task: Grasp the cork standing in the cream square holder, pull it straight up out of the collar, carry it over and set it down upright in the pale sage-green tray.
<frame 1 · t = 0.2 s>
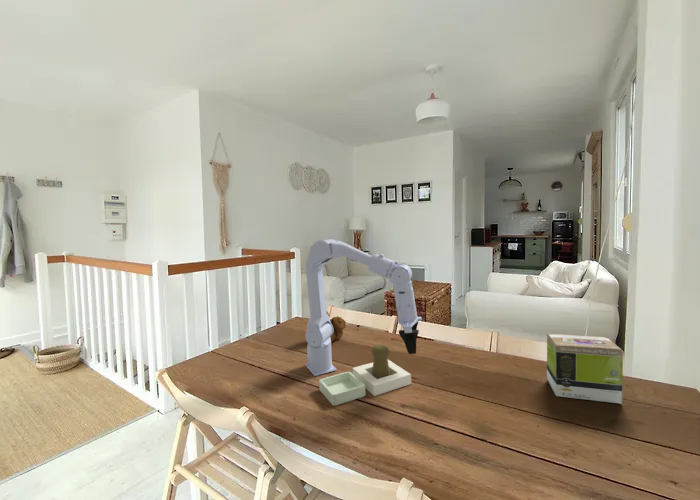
hand: (412, 348, 97), 10 cm above the table, tool pointing down, fingers open, 7 cm apart
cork: (381, 381, 100), resting in holder
stuffed squirrel: (329, 340, 135), on the table
tea box: (581, 392, 90), on the table
holder: (381, 380, 100), on the table
tray: (342, 392, 94), on the table
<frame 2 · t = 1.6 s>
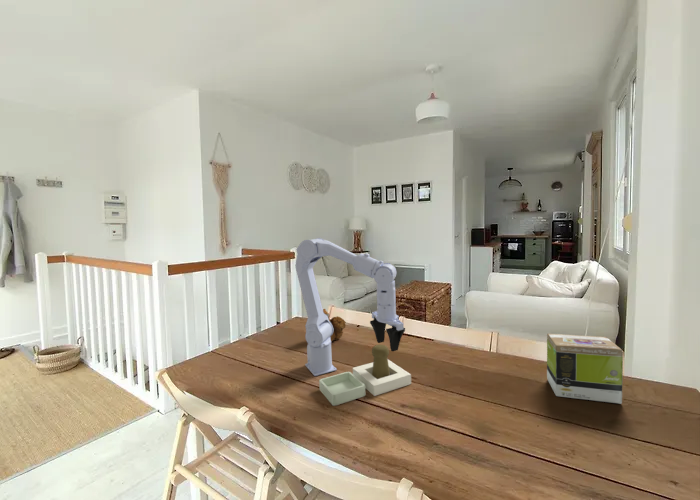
hand: (387, 346, 100), 10 cm above the table, tool pointing down, fingers open, 7 cm apart
nothing on the table moved.
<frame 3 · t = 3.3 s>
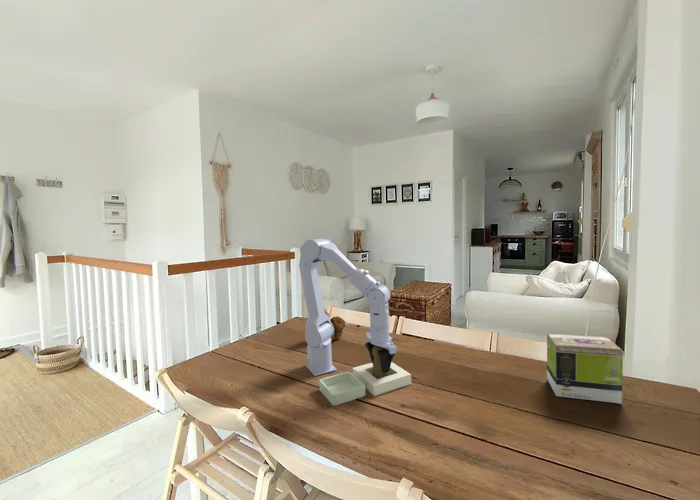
hand: (380, 368, 99), 4 cm above the table, tool pointing down, fingers closed on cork, 5 cm apart
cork: (381, 380, 100), resting in holder, touching gripper
everything else where it was.
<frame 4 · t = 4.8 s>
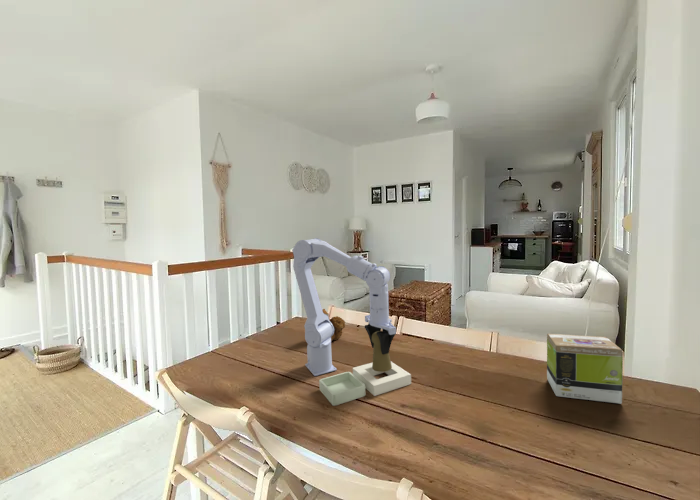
hand: (380, 350, 99), 10 cm above the table, tool pointing down, fingers closed on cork, 5 cm apart
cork: (382, 367, 99), point 4 cm above the table, touching gripper
everything else where it was.
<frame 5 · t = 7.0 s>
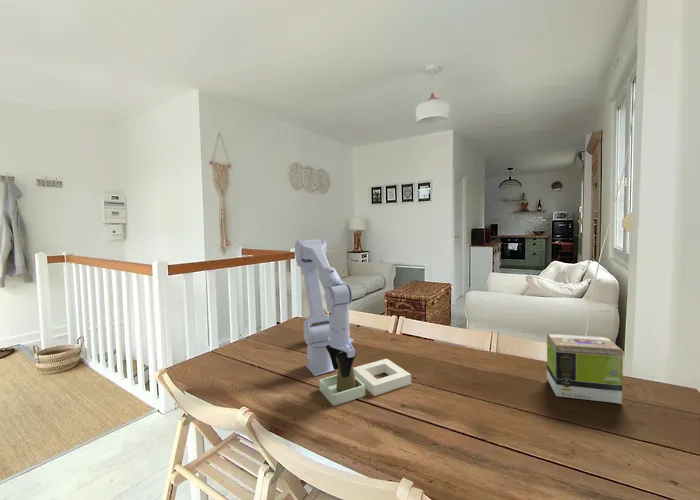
hand: (341, 372, 93), 6 cm above the table, tool pointing down, fingers closed on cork, 5 cm apart
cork: (346, 389, 94), resting on tray, touching gripper
everything else where it was.
when the fingers open (6 cm above the table, at t = 7.9 s): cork stays where it is, resting on tray.
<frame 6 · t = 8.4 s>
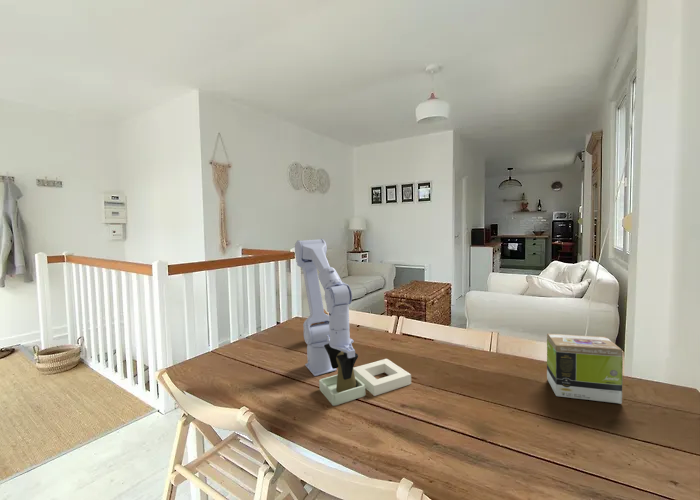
hand: (341, 372, 93), 6 cm above the table, tool pointing down, fingers open, 7 cm apart
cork: (346, 389, 94), resting on tray
everything else where it was.
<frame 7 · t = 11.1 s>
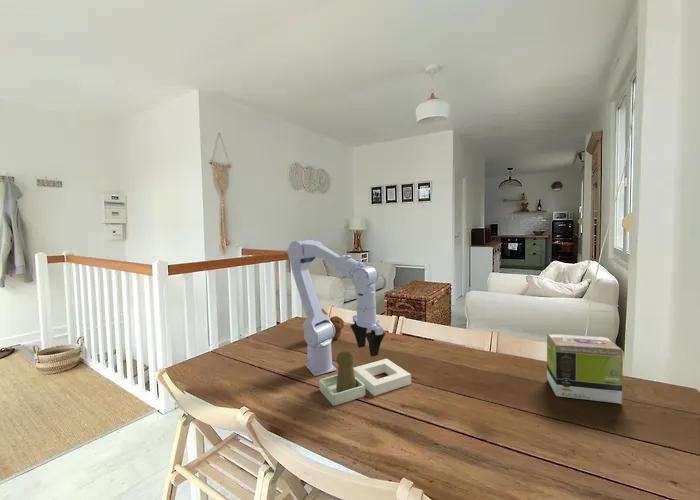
hand: (367, 351, 97), 10 cm above the table, tool pointing down, fingers open, 7 cm apart
nothing on the table moved.
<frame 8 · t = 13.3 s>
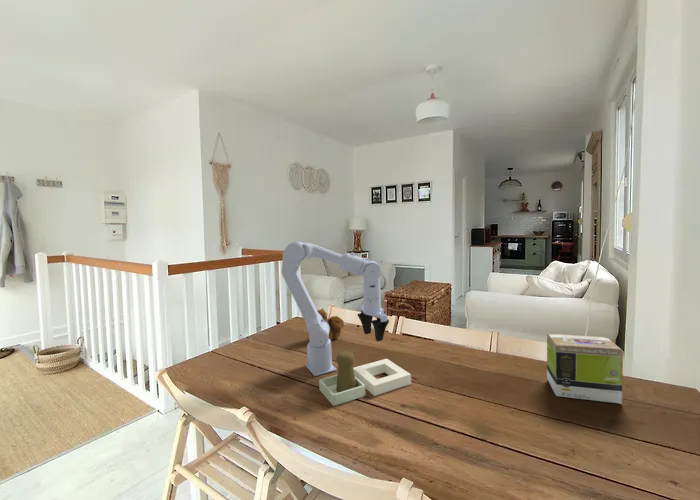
hand: (373, 337, 108), 10 cm above the table, tool pointing down, fingers open, 7 cm apart
at the end: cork 1.4 cm off-centre on the tray, point 0.4 cm above the tray's base; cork tilted 0°; the gripper is holding nothing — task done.
